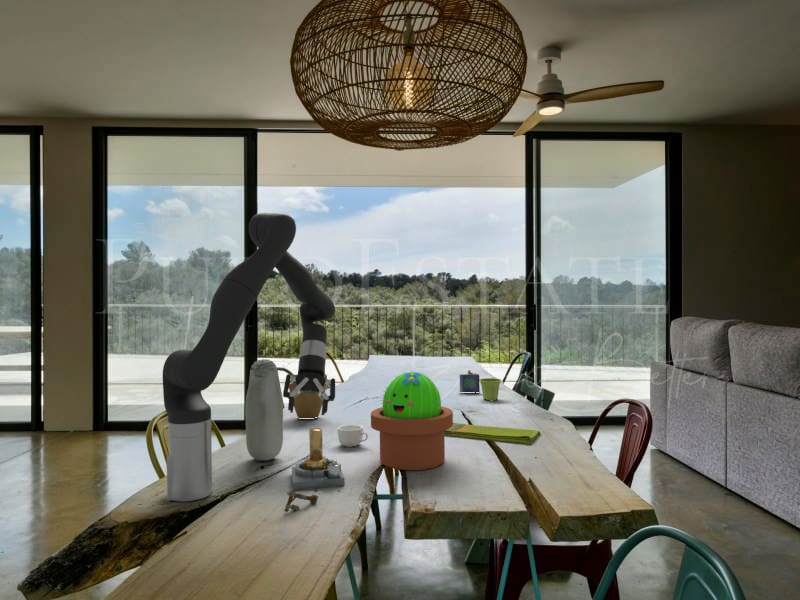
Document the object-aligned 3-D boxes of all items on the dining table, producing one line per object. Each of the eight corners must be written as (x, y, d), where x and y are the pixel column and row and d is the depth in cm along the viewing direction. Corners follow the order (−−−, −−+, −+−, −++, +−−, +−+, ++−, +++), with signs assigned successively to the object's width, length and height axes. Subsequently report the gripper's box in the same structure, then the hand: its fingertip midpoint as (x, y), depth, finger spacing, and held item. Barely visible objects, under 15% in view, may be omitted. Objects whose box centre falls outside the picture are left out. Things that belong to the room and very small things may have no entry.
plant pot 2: (503, 401, 232) (502, 381, 232) (481, 401, 232) (480, 381, 232) (499, 397, 242) (499, 378, 242) (478, 397, 242) (478, 378, 242)
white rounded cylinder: (243, 457, 154) (242, 358, 154) (280, 452, 158) (278, 356, 158) (248, 467, 145) (247, 362, 145) (286, 462, 149) (285, 360, 149)
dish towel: (439, 425, 193) (439, 416, 193) (541, 435, 177) (540, 425, 177) (421, 435, 179) (421, 425, 179) (530, 447, 163) (530, 436, 163)
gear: (305, 474, 133) (304, 433, 133) (303, 466, 139) (303, 427, 139) (329, 472, 134) (328, 431, 134) (327, 465, 140) (326, 426, 140)
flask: (459, 393, 253) (459, 370, 253) (459, 392, 256) (459, 369, 256) (479, 393, 252) (479, 370, 252) (479, 392, 255) (479, 369, 255)
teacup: (332, 446, 164) (332, 429, 164) (346, 440, 171) (346, 423, 171) (360, 450, 160) (360, 432, 160) (374, 444, 167) (373, 426, 167)
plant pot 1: (323, 412, 214) (323, 372, 214) (331, 420, 200) (330, 377, 200) (285, 415, 210) (284, 374, 210) (290, 424, 195) (289, 379, 195)
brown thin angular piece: (279, 509, 113) (286, 487, 115) (307, 514, 119) (313, 493, 120) (284, 512, 112) (291, 489, 113) (312, 516, 118) (318, 495, 119)
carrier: (293, 490, 127) (292, 466, 127) (291, 472, 140) (291, 450, 140) (344, 485, 130) (344, 462, 130) (338, 468, 143) (338, 447, 143)
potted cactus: (395, 446, 163) (394, 363, 163) (464, 455, 153) (463, 367, 153) (356, 467, 144) (355, 372, 144) (432, 479, 134) (431, 377, 134)
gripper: (288, 351, 152) (281, 406, 144) (338, 356, 155) (335, 410, 147) (286, 362, 159) (280, 415, 150) (335, 366, 161) (331, 419, 153)
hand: (307, 413), depth 148 cm, fingers open, 8 cm apart
